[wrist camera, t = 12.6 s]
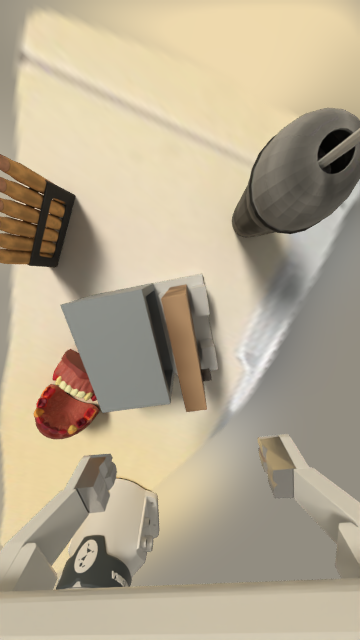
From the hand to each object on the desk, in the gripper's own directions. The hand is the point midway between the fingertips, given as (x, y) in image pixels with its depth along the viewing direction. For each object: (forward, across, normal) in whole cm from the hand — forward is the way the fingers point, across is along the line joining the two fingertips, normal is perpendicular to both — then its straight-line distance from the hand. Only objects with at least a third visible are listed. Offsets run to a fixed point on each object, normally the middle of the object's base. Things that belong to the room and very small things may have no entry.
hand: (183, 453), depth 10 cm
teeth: (+22, -21, -8) cm, 31 cm away
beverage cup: (+21, +11, +14) cm, 28 cm away
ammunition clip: (+21, -16, +18) cm, 32 cm away
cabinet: (+21, -5, 0) cm, 22 cm away
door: (+20, 0, 0) cm, 20 cm away
